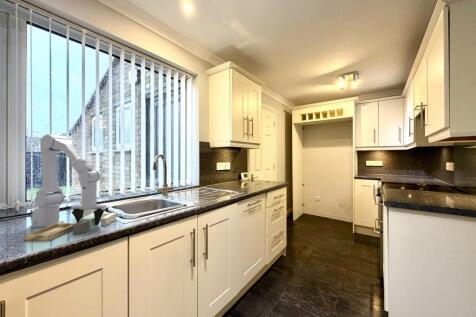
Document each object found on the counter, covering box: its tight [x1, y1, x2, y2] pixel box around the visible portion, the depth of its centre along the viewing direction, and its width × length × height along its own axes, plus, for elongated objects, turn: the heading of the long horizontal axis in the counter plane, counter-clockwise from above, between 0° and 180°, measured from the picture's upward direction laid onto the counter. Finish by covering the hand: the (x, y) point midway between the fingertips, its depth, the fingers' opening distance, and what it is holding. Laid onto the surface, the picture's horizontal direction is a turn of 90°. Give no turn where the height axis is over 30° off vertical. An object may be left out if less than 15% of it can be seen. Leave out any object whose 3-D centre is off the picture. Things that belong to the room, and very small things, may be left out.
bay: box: [83, 212, 117, 226], centre depth 105 cm, size 12×10×4 cm
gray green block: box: [72, 216, 100, 236], centre depth 94 cm, size 5×12×5 cm, turn 5°
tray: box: [23, 222, 76, 242], centre depth 89 cm, size 10×16×2 cm, turn 5°
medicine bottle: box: [78, 195, 95, 217], centre depth 114 cm, size 7×7×12 cm
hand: (88, 224), depth 97 cm, fingers open, 7 cm apart
